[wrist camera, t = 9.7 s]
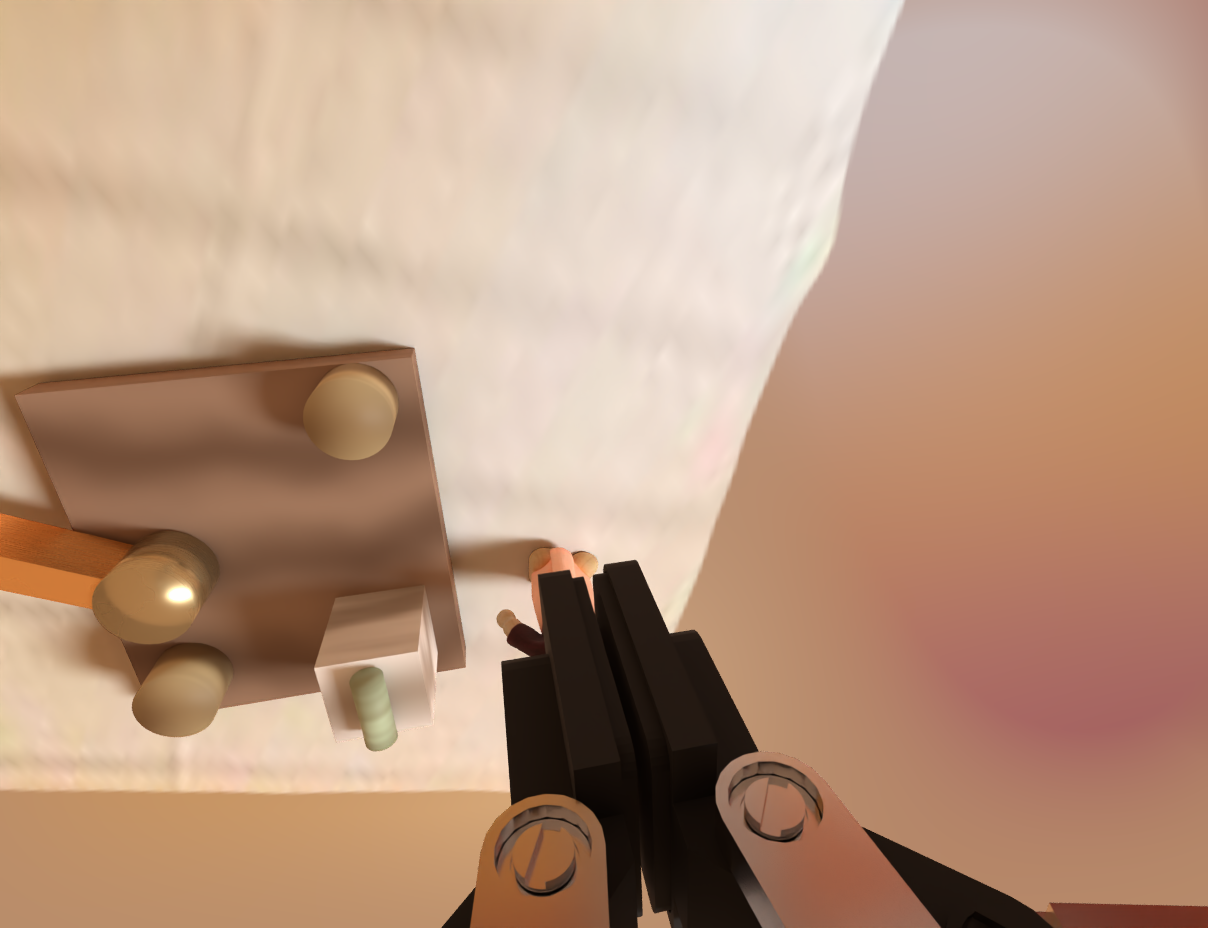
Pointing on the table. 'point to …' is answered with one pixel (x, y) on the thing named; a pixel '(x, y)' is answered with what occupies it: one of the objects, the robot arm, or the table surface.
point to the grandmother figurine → (539, 564)
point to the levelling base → (273, 531)
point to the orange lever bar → (111, 576)
